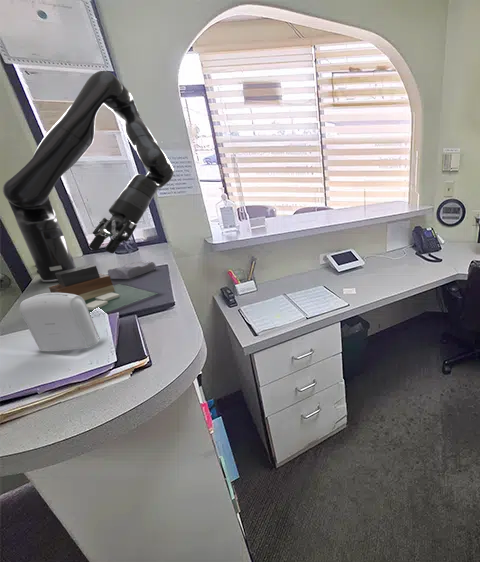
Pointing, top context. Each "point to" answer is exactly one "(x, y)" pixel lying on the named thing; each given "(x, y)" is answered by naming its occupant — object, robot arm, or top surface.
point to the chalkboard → (123, 297)
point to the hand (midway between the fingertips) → (100, 250)
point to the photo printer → (59, 321)
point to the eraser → (83, 282)
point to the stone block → (131, 270)
